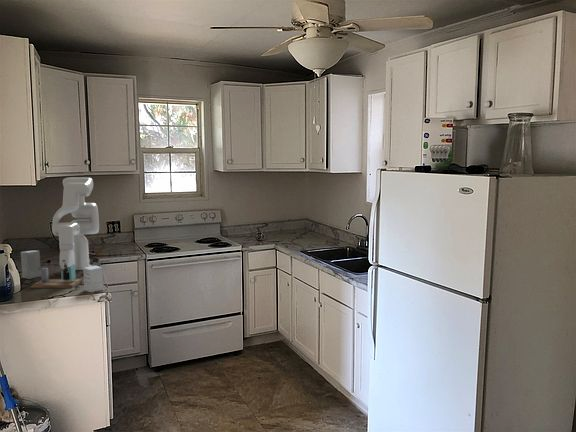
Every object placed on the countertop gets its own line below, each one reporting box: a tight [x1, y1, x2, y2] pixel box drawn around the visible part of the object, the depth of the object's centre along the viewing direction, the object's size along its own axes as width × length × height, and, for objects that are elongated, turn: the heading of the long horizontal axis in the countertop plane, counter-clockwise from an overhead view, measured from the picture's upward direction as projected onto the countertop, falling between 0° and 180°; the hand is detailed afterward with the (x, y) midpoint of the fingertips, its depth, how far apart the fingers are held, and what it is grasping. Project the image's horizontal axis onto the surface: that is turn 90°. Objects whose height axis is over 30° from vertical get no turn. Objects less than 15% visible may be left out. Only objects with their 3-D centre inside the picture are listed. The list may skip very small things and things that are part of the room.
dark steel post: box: [40, 267, 50, 283], centre depth 265 cm, size 3×3×8 cm
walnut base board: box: [30, 278, 83, 289], centre depth 266 cm, size 14×22×2 cm, turn 93°
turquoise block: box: [60, 265, 77, 281], centre depth 266 cm, size 6×6×8 cm
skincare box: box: [20, 249, 42, 280], centre depth 282 cm, size 8×7×16 cm
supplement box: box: [82, 265, 104, 294], centre depth 255 cm, size 7×7×13 cm
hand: (68, 277), depth 266 cm, fingers closed on turquoise block, 5 cm apart
